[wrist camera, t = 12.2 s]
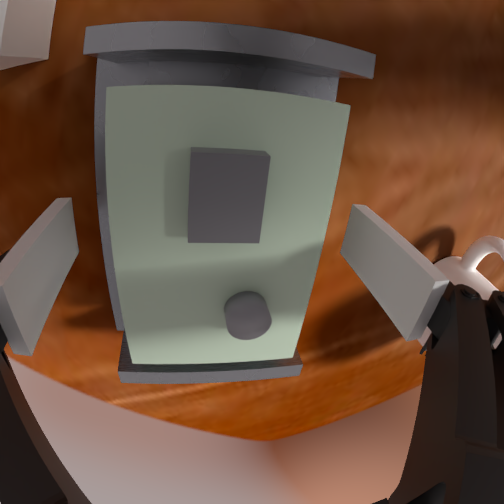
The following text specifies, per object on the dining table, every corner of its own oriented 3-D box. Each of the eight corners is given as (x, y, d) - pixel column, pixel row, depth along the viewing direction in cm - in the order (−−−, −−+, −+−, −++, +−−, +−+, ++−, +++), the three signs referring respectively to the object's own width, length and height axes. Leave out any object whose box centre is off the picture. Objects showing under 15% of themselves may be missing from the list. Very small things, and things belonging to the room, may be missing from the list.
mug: (444, 417, 18) (537, 287, 12) (388, 331, 26) (440, 210, 21) (498, 390, 20) (569, 282, 14) (444, 322, 28) (492, 221, 23)
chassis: (105, 33, 11) (62, 10, 6) (334, 51, 14) (399, 44, 9) (118, 320, 20) (107, 389, 15) (286, 317, 23) (311, 381, 18)
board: (122, 86, 10) (97, 87, 7) (323, 100, 12) (365, 108, 9) (136, 329, 16) (130, 379, 13) (281, 326, 17) (298, 372, 15)
